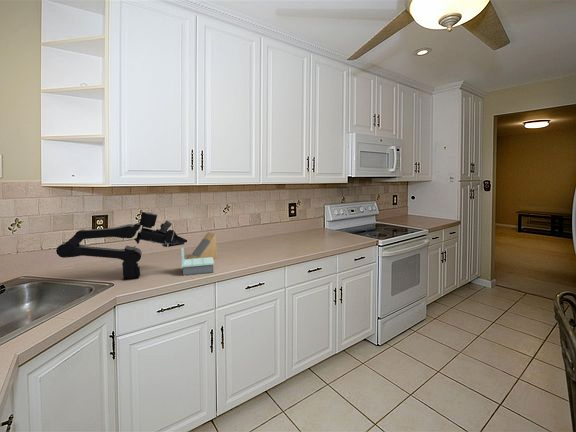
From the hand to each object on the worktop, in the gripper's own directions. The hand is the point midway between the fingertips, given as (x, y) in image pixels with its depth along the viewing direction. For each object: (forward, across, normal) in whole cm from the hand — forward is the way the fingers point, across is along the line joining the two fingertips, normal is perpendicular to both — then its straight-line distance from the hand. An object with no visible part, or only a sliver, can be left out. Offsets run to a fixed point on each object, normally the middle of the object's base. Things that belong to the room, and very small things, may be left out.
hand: (185, 242), depth 146 cm
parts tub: (+9, +2, +13) cm, 16 cm away
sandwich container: (+13, +19, +6) cm, 24 cm away
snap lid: (+8, 0, +9) cm, 12 cm away
